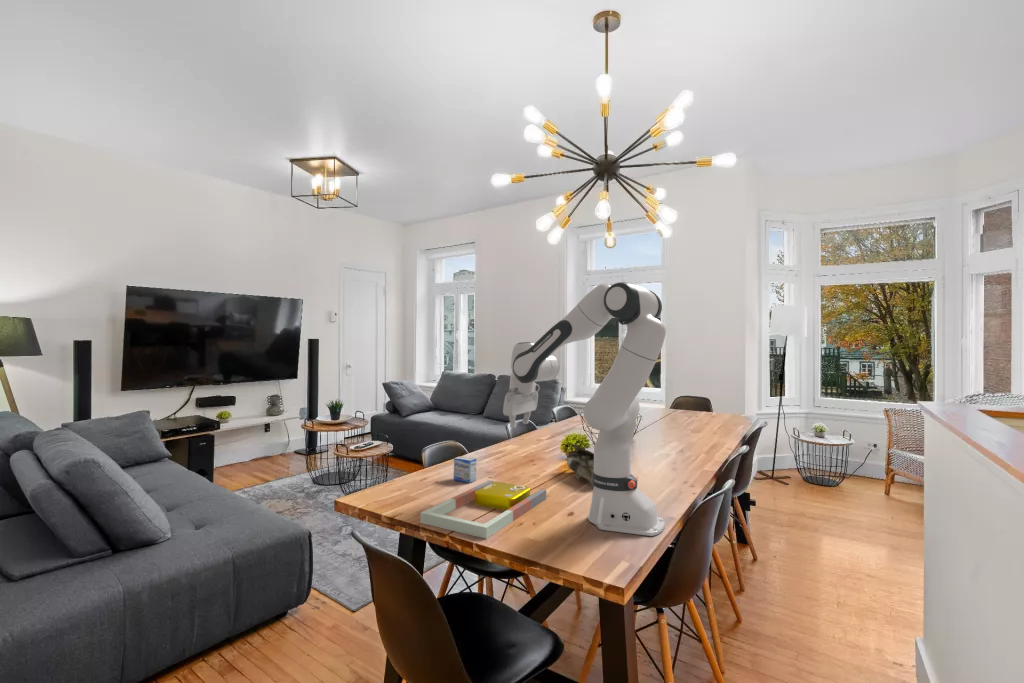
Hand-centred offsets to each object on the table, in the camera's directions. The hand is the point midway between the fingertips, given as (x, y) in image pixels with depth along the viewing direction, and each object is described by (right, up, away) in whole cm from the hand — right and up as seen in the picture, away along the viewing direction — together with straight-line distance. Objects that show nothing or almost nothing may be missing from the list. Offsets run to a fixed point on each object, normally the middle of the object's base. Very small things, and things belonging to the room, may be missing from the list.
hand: (519, 425), depth 173 cm
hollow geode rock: (+28, -25, +19) cm, 42 cm away
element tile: (-6, -25, -10) cm, 27 cm away
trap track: (-10, -24, -18) cm, 32 cm away
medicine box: (-21, -24, +14) cm, 35 cm away
